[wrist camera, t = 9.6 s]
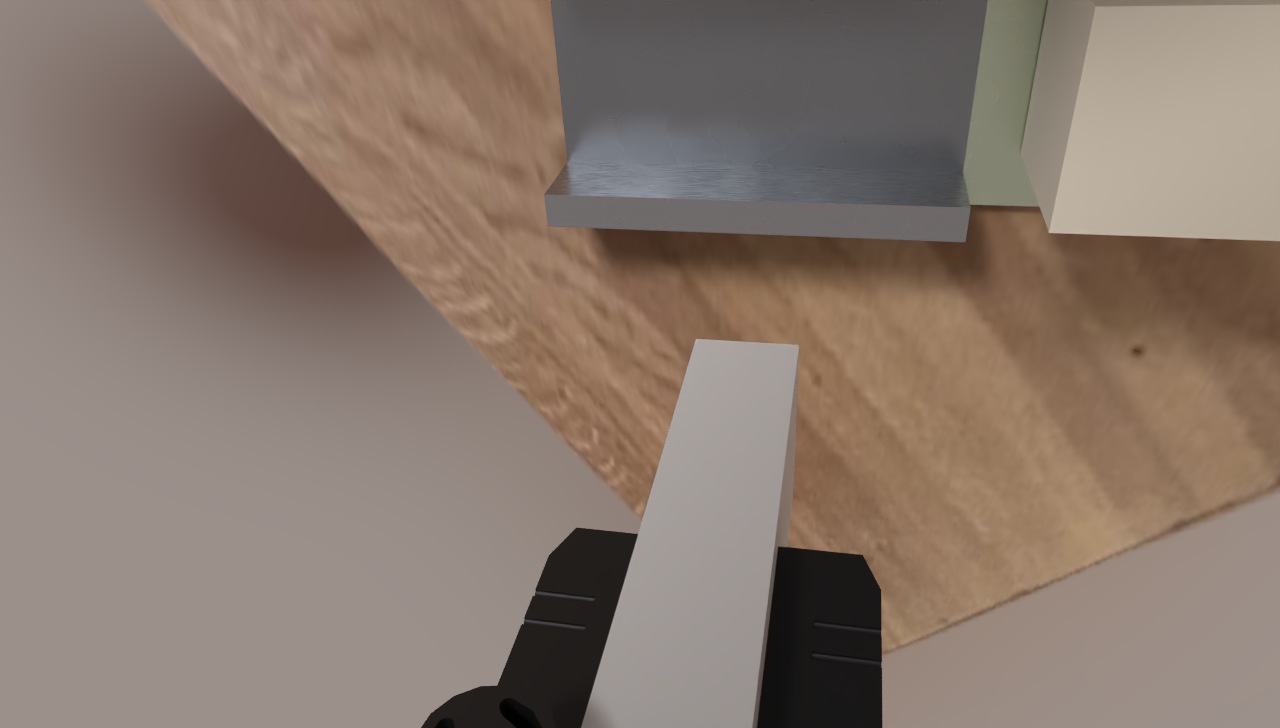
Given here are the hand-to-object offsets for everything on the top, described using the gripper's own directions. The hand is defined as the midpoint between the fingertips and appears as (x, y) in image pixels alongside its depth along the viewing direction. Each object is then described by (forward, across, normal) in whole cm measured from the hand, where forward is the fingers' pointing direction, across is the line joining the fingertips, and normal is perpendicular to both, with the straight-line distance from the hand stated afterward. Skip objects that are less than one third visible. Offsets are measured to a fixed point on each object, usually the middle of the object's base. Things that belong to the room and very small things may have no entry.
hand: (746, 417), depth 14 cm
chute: (+20, +3, 0) cm, 21 cm away
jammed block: (+20, +11, 0) cm, 23 cm away
